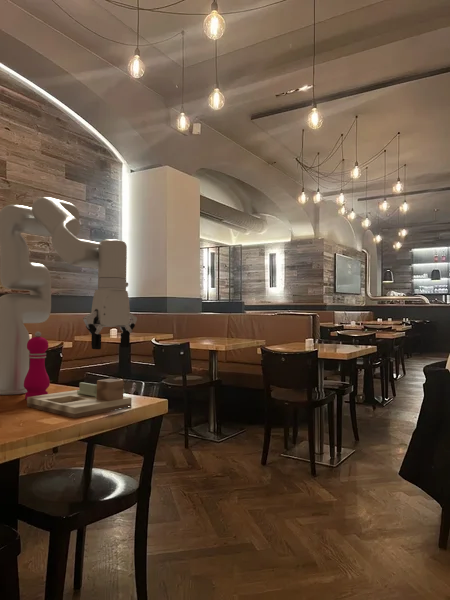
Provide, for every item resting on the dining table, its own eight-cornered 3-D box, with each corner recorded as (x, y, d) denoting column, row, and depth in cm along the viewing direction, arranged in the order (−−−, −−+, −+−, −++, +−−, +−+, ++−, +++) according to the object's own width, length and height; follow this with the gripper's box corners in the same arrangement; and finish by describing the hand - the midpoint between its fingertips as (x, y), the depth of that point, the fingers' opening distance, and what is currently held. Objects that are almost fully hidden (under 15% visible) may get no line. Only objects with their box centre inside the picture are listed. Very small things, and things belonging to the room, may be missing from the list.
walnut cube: (96, 399, 123) (96, 380, 123) (111, 396, 127) (111, 378, 127) (108, 401, 120) (108, 382, 120) (123, 398, 124) (123, 380, 124)
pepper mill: (40, 401, 132) (41, 332, 133) (17, 399, 133) (19, 331, 134) (54, 396, 139) (55, 331, 140) (33, 395, 141) (34, 330, 141)
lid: (77, 394, 130) (77, 382, 130) (104, 390, 137) (104, 378, 137) (96, 397, 124) (97, 385, 124) (124, 393, 132) (124, 381, 132)
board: (26, 406, 124) (27, 397, 125) (83, 397, 139) (83, 389, 139) (74, 418, 111) (74, 407, 111) (131, 406, 125) (131, 397, 125)
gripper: (127, 287, 133) (126, 346, 133) (76, 284, 120) (75, 349, 119) (145, 286, 129) (144, 347, 128) (94, 282, 115) (93, 350, 115)
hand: (111, 348), depth 124 cm, fingers open, 9 cm apart
